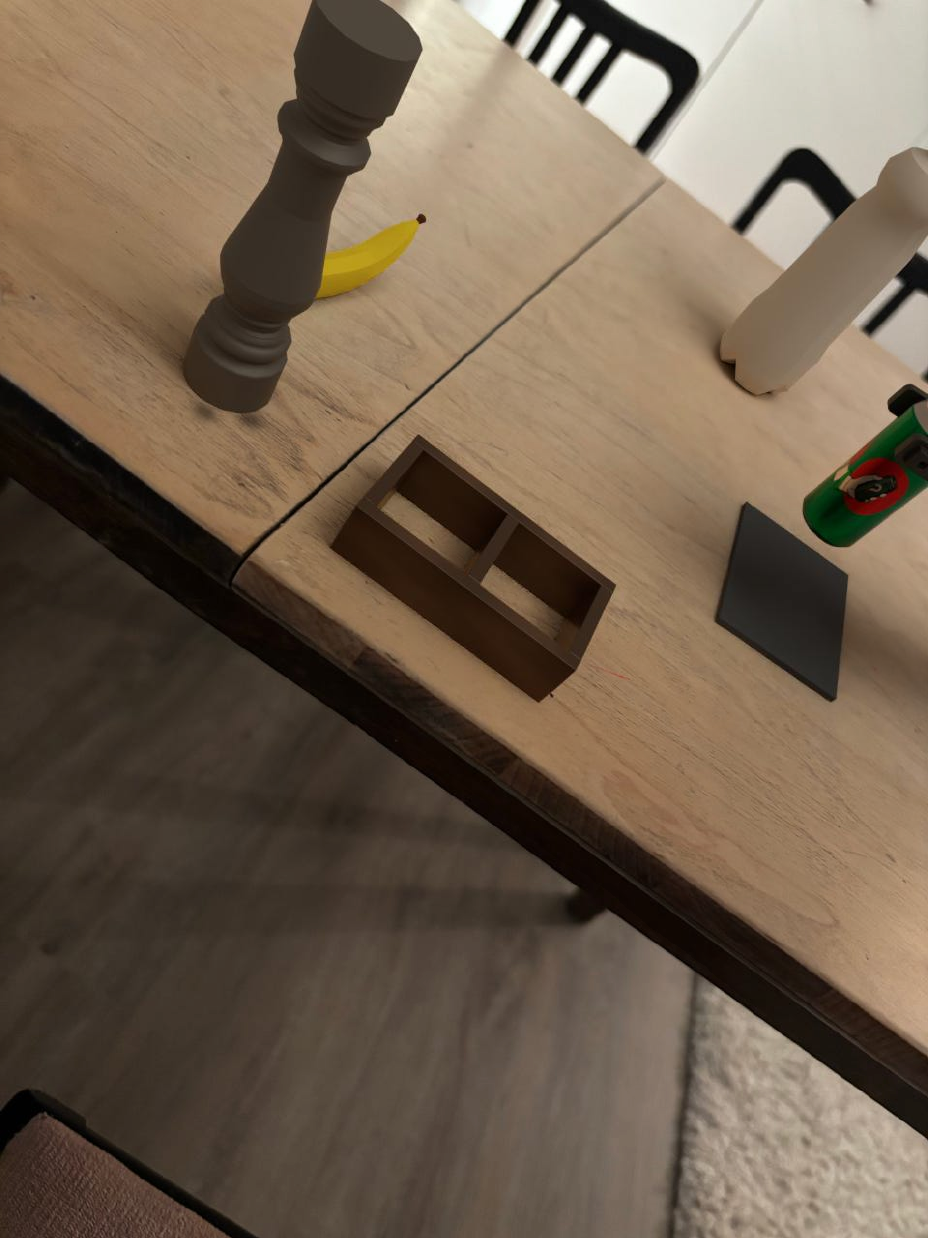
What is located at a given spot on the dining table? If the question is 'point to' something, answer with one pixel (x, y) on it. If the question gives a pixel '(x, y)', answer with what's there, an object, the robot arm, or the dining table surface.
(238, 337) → the candle holder
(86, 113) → the dining table surface
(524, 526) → the can rack
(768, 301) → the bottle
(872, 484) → the soda can
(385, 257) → the banana
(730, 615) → the table mat
